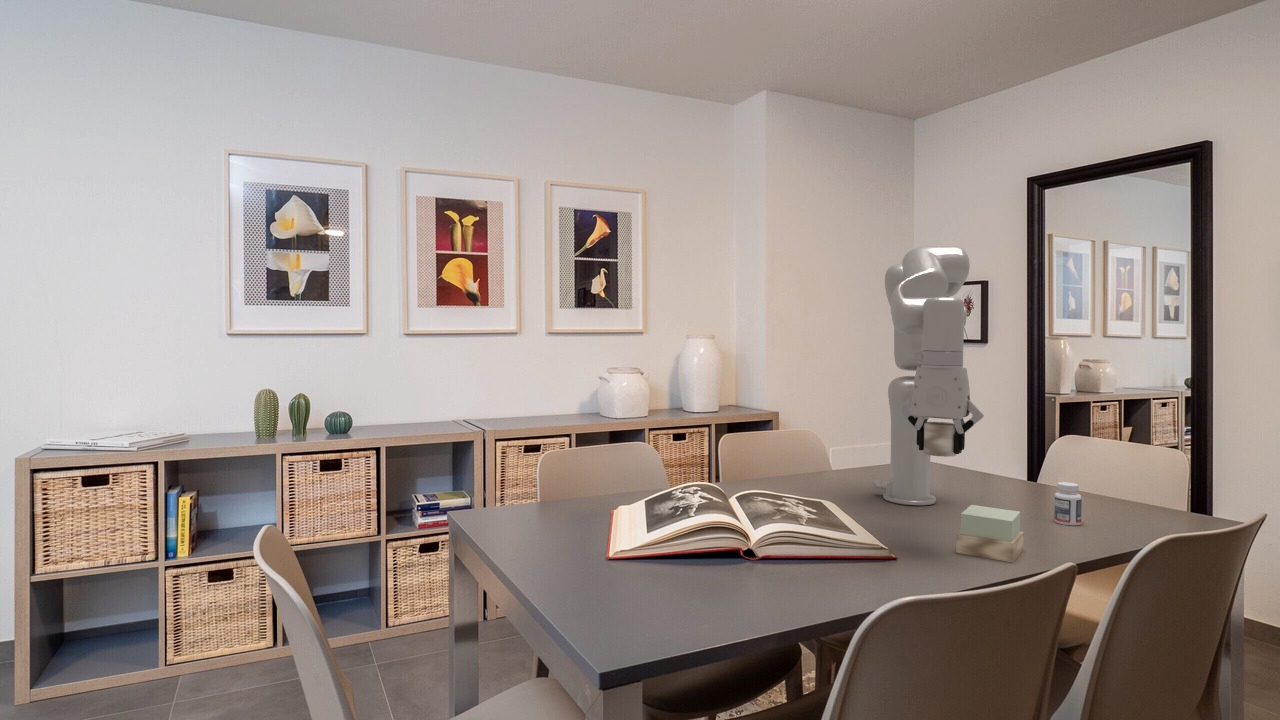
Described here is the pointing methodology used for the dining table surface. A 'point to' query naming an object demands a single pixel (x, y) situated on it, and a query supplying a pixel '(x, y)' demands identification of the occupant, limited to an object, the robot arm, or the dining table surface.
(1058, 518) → the pill bottle
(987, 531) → the tower top block
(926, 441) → the marbled beige cylinder
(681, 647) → the dining table surface
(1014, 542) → the tower base block
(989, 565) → the dining table surface
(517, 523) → the dining table surface
